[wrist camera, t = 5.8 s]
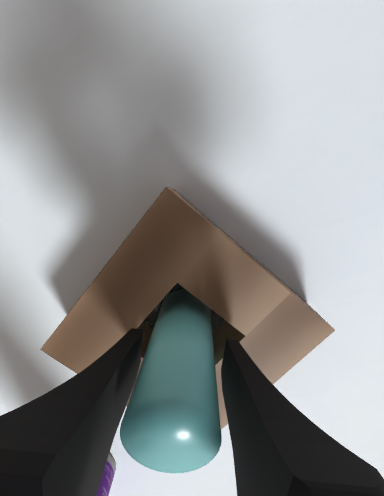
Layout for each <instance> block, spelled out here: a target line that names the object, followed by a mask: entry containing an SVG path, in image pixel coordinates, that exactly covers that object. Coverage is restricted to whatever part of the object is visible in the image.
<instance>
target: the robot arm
mask: <svg viewBox="0 0 384 496" xmlns="http://www.w3.org/2000/svg"><path fill="white" fill-rule="evenodd" d="M142 338H143V329H135V328H131V329H130V330H129V331H128V332H127V333H126V334H125V335H124V336H123V337H122V338H121V339H120V340H119V341H118V342H116V343H115V344H114V345H113V346H112V347H111V348H110V349H109V350H108V351H106V352H105V353H104V354H103V355H102V356H101V357H99V358H98V359H97V360H96V361H94V362H93V363H92V364H91V365H89V366H88V367H87V368H85V369H84V370H83V371H81V372H80V373H78V374H77V375H75V376H74V377H72V378H71V379H69V380H68V381H66V382H65V383H63V384H61V385H60V386H58V387H56V388H54V389H53V390H51V391H49V392H48V393H46V394H44V395H42V396H40V397H39V398H37V399H35V400H33V401H31V402H29V403H27V404H25V405H23V406H21V407H19V408H17V409H15V410H13V411H11V412H8V413H6V414H4V415H1V416H0V496H97V493H98V489H99V486H100V482H101V479H102V475H103V472H104V469H105V465H106V462H107V459H108V455H109V452H110V449H111V445H112V442H113V439H114V436H115V433H116V430H117V428H118V425H119V422H120V420H121V417H122V415H123V412H124V410H125V407H126V405H127V402H128V399H129V397H130V394H131V392H132V389H133V387H134V384H135V381H136V378H137V374H138V371H139V367H140V363H141V353H142ZM221 381H222V392H223V397H224V403H225V409H226V414H227V419H228V425H229V430H230V436H231V441H232V448H233V455H234V465H235V475H236V485H237V496H384V479H383V477H382V476H381V475H380V473H379V472H378V470H377V469H376V468H374V467H373V466H371V465H370V464H368V463H367V462H365V461H364V460H363V459H361V458H360V457H358V456H357V455H355V454H354V453H352V452H351V451H349V450H348V449H346V448H345V447H344V446H342V445H341V444H340V443H338V442H337V441H336V440H334V439H333V438H332V437H330V436H329V435H328V434H326V433H325V432H324V431H323V430H321V429H320V428H319V427H318V426H316V425H315V424H314V423H313V422H312V421H310V420H309V419H308V418H307V417H306V416H305V415H303V414H302V413H301V412H300V411H299V410H298V409H297V408H296V407H295V406H293V405H292V404H291V403H290V402H289V401H288V400H287V399H286V398H285V397H284V396H283V395H282V394H281V393H280V392H279V391H278V390H277V389H276V388H275V387H274V385H273V384H272V383H271V382H270V381H269V380H268V379H267V378H266V376H265V375H264V374H263V373H262V372H261V370H260V369H259V368H258V367H257V365H256V364H255V363H254V361H253V360H252V359H251V357H250V356H249V355H248V353H247V352H246V351H245V349H244V348H243V347H242V345H241V344H240V342H239V341H238V340H234V339H226V343H225V349H224V355H223V361H222V366H221Z"/></svg>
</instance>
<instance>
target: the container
mask: <svg viewBox="0 0 384 496" xmlns="http://www.w3.org/2000/svg"><path fill="white" fill-rule="evenodd" d="M115 470H116V464H115V461H114V459H113V457H112V456H111V455H110V454H109V455H108V459H107V462H106V465H105V469H104V472H103V475H102V479H101V482H100V486H99V489H98V493H97V496H108V494H109V491H110V488H111V484H112V481H113V477H114V474H115Z"/></svg>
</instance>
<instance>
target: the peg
mask: <svg viewBox="0 0 384 496" xmlns="http://www.w3.org/2000/svg"><path fill="white" fill-rule="evenodd" d="M120 437H121V441H122V444H123V446H124V448H125V450H126V451H127V453H128V454H129V455H130V456H131V457H132V458H133V459H134V460H136V461H137V462H139V463H140V464H142V465H144V466H145V467H148V468H150V469H153V470H156V471H160V472H166V473H184V472H189V471H193V470H196V469H199V468H201V467H203V466H205V465H206V464H207V463H209V462H210V461H211V460H212V459H213V458H214V457H215V456H216V454H217V453H218V451H219V448H220V446H221V426H220V415H219V403H218V392H217V380H216V369H215V357H214V346H213V334H212V323H211V312H210V308H209V307H208V306H206V305H205V304H204V303H203V302H201V301H200V300H199V299H197V298H196V297H195V296H194V295H192V294H191V293H190V292H188V291H187V290H186V289H178V290H175V291H173V292H171V293H170V294H168V295H167V296H166V298H165V299H164V300H163V303H162V305H161V308H160V311H159V314H158V317H157V320H156V323H155V326H154V329H153V332H152V335H151V338H150V341H149V344H148V347H147V350H146V353H145V355H144V358H143V361H142V364H141V367H140V370H139V373H138V376H137V379H136V382H135V385H134V388H133V391H132V394H131V397H130V400H129V403H128V406H127V409H126V412H125V414H124V417H123V420H122V423H121V427H120Z"/></svg>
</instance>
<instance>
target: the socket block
mask: <svg viewBox="0 0 384 496" xmlns="http://www.w3.org/2000/svg"><path fill="white" fill-rule="evenodd" d="M177 283H178V284H179V285H181V286H182V287H183V288H185V289H186V290H187V291H188V292H190V293H191V294H192V295H194V296H195V297H196V298H197V299H199V300H200V301H201V302H203V303H204V304H205V305H206V306H208V307H209V308H210V309H212V310H213V311H214V312H215V313H217V314H218V315H219V316H221V317H222V318H223V319H224V320H225V321H224V322H223V323H222V324H221V325H220V326H219V327H218V328H217V329H216V330H215V331H214V332H213V333H212V334H213V346H214V357H215V369H216V380H217V392H218V403H219V415H220V426H221V429H222V428H223V427H224V426H225V425H227V424H228V419H227V414H226V409H225V403H224V397H223V392H222V381H221V366H222V361H223V355H224V349H225V343H226V339H234V340H238V341H239V342H240V344H241V345H242V347H243V348H244V349H245V351H246V352H247V353H248V355H249V356H250V357H251V359H252V360H253V361H254V363H255V364H256V365H257V367H258V368H259V369H260V370H261V372H262V373H263V374H264V375H265V376H266V378H267V379H268V380H269V381H270V382H271V383H272V384H274V383H275V382H276V381H277V380H278V379H280V378H281V377H282V376H283V375H284V374H285V373H286V372H288V371H289V370H290V369H291V368H292V367H293V366H294V365H296V364H297V363H298V362H299V361H300V360H301V359H303V358H304V357H305V356H306V355H307V354H308V353H309V352H311V351H312V350H313V349H314V348H315V347H316V346H317V345H319V344H320V343H321V342H322V341H323V340H324V339H326V338H327V337H328V336H329V335H330V334H331V333H332V332H334V331H335V330H334V329H333V328H332V327H331V326H330V325H329V324H328V323H327V322H326V321H325V320H324V319H323V318H322V317H321V316H320V315H319V314H318V313H317V312H316V311H314V310H313V309H312V308H311V307H310V306H309V305H308V304H307V303H306V302H305V301H304V300H302V299H301V298H300V297H299V296H298V295H297V294H295V293H294V292H293V291H292V290H291V289H290V288H288V287H287V286H286V285H285V284H284V283H282V282H281V281H280V280H279V279H278V278H277V277H275V276H274V275H273V274H272V273H271V272H270V271H268V270H267V269H266V268H265V267H264V266H263V265H261V264H260V263H259V262H258V261H257V260H256V259H254V258H253V257H252V256H251V255H250V254H248V253H247V252H246V251H245V250H244V249H243V248H241V247H240V246H239V245H238V244H237V243H236V242H234V241H233V240H232V239H231V238H230V237H229V236H227V235H226V234H225V233H224V232H223V231H222V230H220V229H219V228H218V227H217V226H216V225H214V224H213V223H212V222H211V221H210V220H209V219H207V218H206V217H205V216H204V215H203V214H202V213H200V212H199V211H198V210H197V209H196V208H195V207H193V206H192V205H191V204H190V203H189V202H188V201H186V200H185V199H184V198H183V197H182V196H180V195H179V194H178V193H177V192H176V191H175V190H173V189H171V188H168V187H166V188H165V189H164V191H163V192H162V193H161V194H160V196H159V197H158V198H157V200H156V201H155V202H154V203H153V205H152V206H151V207H150V209H149V210H148V211H147V213H146V214H145V215H144V216H143V218H142V219H141V220H140V222H139V223H138V224H137V225H136V227H135V228H134V229H133V231H132V232H131V233H130V234H129V236H128V237H127V238H126V240H125V241H124V242H123V243H122V245H121V246H120V247H119V249H118V250H117V251H116V253H115V254H114V255H113V256H112V258H111V259H110V260H109V262H108V263H107V264H106V265H105V267H104V268H103V269H102V271H101V272H100V273H99V274H98V276H97V277H96V278H95V280H94V281H93V282H92V284H91V285H90V286H89V287H88V289H87V290H86V291H85V293H84V294H83V295H82V296H81V298H80V299H79V300H78V302H77V303H76V304H75V305H74V307H73V308H72V309H71V311H70V312H69V313H68V315H67V316H66V317H65V318H64V320H63V321H62V322H61V324H60V325H59V326H58V327H57V329H56V330H55V331H54V333H53V334H52V335H51V336H50V338H49V339H48V340H47V342H46V343H45V344H44V345H43V347H42V348H41V349H40V350H42V351H43V352H45V353H46V354H48V355H49V356H51V357H52V358H54V359H55V360H57V361H59V362H60V363H62V364H63V365H65V366H66V367H68V368H69V369H71V370H72V371H74V372H75V373H77V374H78V373H80V372H81V371H83V370H84V369H85V368H87V367H88V366H89V365H91V364H92V363H93V362H94V361H96V360H97V359H98V358H99V357H101V356H102V355H103V354H104V353H105V352H106V351H108V350H109V349H110V348H111V347H112V346H113V345H114V344H115V343H116V342H118V341H119V340H120V339H121V338H122V337H123V336H124V335H125V334H126V333H127V332H128V331H129V330H130V329H131V328H135V329H143V338H142V353H141V363H140V367H141V364H142V361H143V358H144V355H145V353H146V350H147V347H148V344H149V341H150V338H151V335H152V332H153V329H154V328H153V327H151V326H150V325H149V324H147V323H146V322H145V321H144V320H145V319H146V318H147V316H148V315H149V314H150V313H151V312H152V311H153V310H154V308H155V307H156V306H157V305H158V304H159V303H160V302H161V301H162V299H163V298H164V297H165V296H166V295H167V294H168V293H169V291H170V290H171V289H172V288H173V287H174V286H175V285H176V284H177ZM140 367H139V370H140ZM138 373H139V371H138ZM137 376H138V374H137ZM136 379H137V378H136ZM135 382H136V381H135ZM134 385H135V384H134ZM133 388H134V387H133ZM132 391H133V389H132ZM131 394H132V392H131ZM131 394H130V397H131ZM130 397H129V399H128V402H127V405H126V406H128V403H129V400H130Z"/></svg>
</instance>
